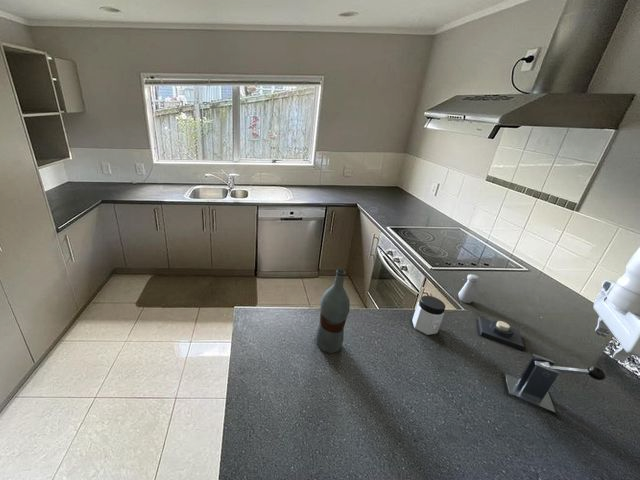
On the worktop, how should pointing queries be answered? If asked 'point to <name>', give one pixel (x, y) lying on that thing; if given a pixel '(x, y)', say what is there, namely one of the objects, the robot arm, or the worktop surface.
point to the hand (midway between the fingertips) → (607, 345)
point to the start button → (502, 326)
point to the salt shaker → (469, 289)
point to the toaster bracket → (534, 383)
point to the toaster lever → (578, 370)
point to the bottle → (333, 315)
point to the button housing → (500, 334)
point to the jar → (428, 315)
